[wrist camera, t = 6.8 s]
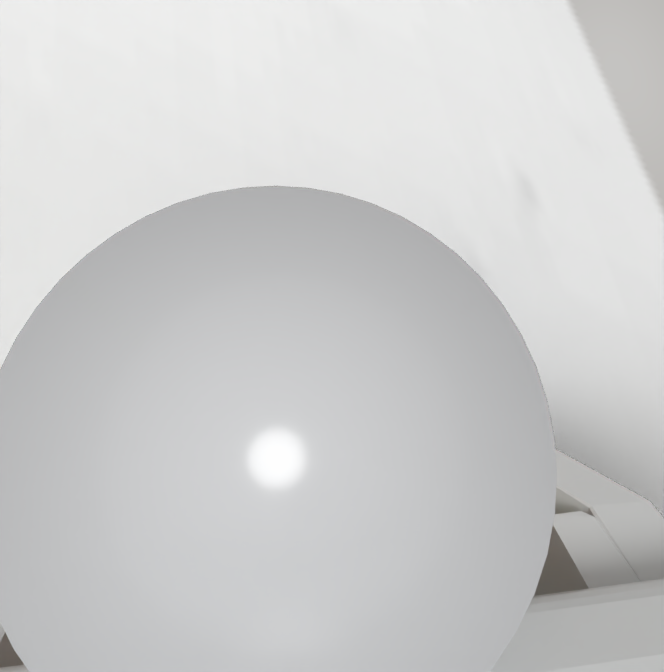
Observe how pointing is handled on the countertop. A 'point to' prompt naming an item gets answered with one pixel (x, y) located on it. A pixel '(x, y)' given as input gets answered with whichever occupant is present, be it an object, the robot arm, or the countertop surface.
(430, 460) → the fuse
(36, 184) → the countertop surface
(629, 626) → the robot arm
